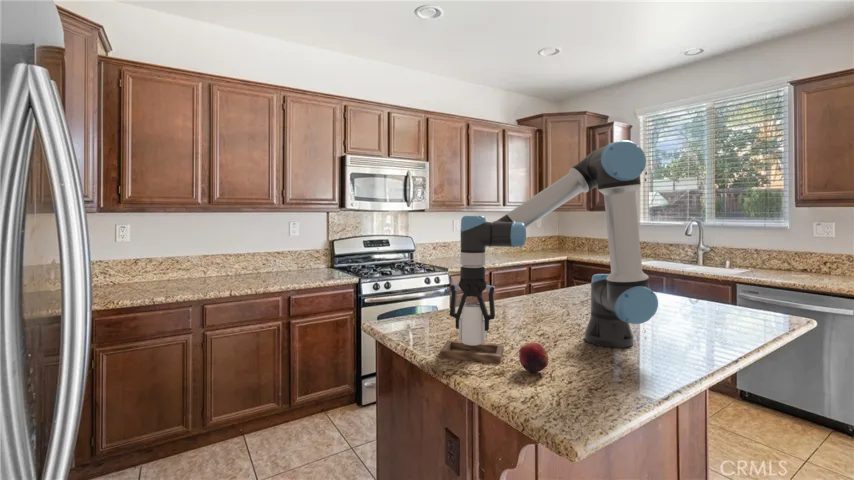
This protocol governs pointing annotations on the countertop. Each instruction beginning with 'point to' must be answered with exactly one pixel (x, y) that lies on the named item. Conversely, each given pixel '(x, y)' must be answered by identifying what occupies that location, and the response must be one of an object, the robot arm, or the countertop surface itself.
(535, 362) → the fruit
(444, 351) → the socket
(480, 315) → the can
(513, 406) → the countertop surface
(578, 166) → the robot arm
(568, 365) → the countertop surface
